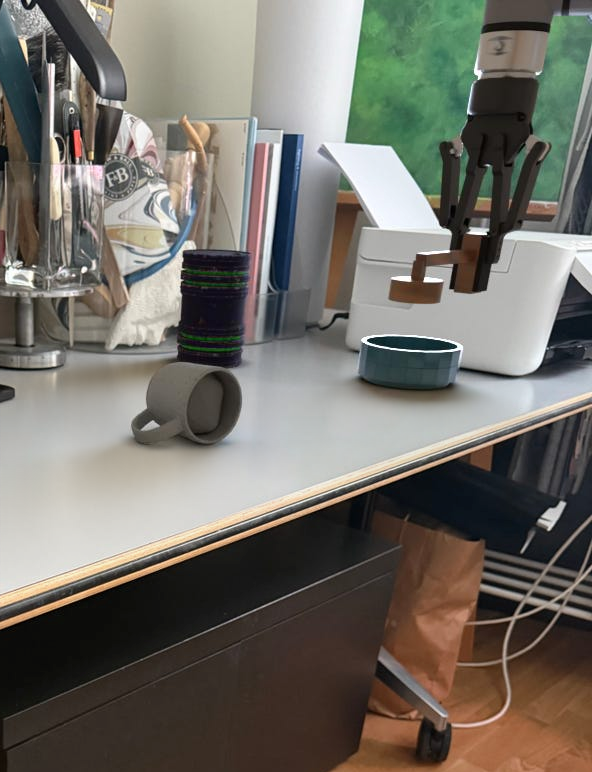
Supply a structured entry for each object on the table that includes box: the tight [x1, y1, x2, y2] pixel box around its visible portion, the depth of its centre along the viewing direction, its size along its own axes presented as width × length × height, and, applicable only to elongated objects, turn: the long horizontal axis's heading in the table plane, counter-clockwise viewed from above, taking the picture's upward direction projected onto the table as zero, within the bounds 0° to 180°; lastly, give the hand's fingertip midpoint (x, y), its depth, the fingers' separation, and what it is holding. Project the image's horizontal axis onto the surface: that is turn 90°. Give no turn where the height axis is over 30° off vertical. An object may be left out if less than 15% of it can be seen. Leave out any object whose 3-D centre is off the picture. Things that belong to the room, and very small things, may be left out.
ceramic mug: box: [130, 361, 243, 445], centre depth 97 cm, size 11×8×8 cm
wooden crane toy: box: [387, 232, 488, 305], centre depth 114 cm, size 18×6×7 cm, turn 136°
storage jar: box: [176, 248, 252, 369], centre depth 134 cm, size 10×10×15 cm
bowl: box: [356, 334, 464, 390], centre depth 128 cm, size 13×13×5 cm
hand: (467, 289), depth 120 cm, fingers closed on wooden crane toy, 2 cm apart
